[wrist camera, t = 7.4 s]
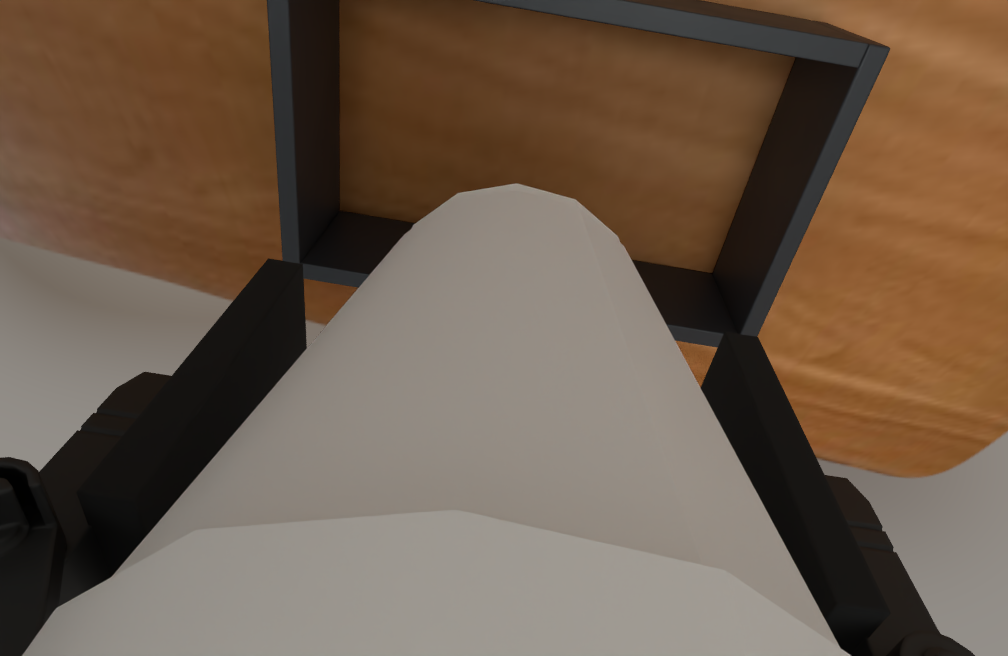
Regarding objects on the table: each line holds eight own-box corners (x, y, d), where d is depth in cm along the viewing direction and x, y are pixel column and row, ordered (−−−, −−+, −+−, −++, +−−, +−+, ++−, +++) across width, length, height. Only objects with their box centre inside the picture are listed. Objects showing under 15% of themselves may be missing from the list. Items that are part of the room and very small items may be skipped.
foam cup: (316, 388, 18) (-30, 1081, 7) (351, 64, 13) (-619, 807, 2) (621, 461, 19) (711, 1180, 8) (769, 184, 14) (1523, 1141, 3)
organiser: (324, 221, 33) (282, 275, 28) (320, -68, 26) (262, -65, 21) (721, 288, 33) (750, 353, 28) (828, 23, 26) (892, 47, 21)
